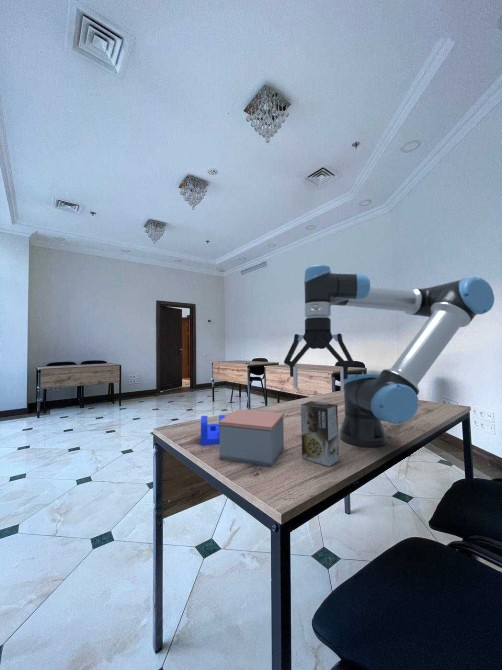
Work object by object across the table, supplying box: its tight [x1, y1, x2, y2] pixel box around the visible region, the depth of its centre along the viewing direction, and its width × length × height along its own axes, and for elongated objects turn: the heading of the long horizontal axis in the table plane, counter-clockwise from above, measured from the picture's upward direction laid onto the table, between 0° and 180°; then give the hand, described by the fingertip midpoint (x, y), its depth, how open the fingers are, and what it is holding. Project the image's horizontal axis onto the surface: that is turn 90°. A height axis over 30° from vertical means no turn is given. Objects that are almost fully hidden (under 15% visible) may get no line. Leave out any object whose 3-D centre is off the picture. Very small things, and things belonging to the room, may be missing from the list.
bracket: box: [200, 414, 226, 446], centre depth 103 cm, size 18×8×9 cm, turn 8°
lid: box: [218, 408, 285, 431], centre depth 86 cm, size 16×14×1 cm
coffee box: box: [300, 400, 340, 467], centre depth 82 cm, size 9×6×16 cm
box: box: [219, 417, 285, 468], centre depth 86 cm, size 16×14×10 cm
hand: (318, 389), depth 82 cm, fingers open, 13 cm apart
